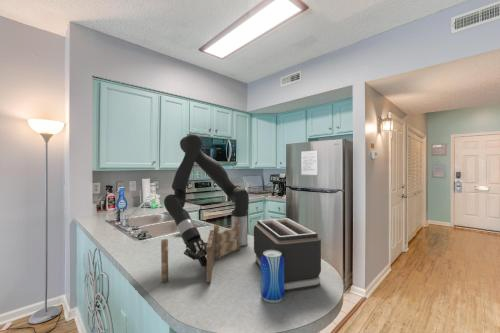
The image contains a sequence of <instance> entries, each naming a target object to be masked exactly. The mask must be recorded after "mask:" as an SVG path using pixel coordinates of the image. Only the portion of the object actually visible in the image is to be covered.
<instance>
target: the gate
mask: <svg viewBox="0 0 500 333" xmlns="http://www.w3.org/2000/svg"><path fill="white" fill-rule="evenodd" d="M206 243H207V245H206V252H207V254H206V259H207V266H206V282H207V283H210V282H212V275H213V268H214V261H215V260H214V229H213V230H212V229H211V230H210V231H209V234H208V239H207V242H206Z"/></svg>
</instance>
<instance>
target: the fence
mask: <svg viewBox="0 0 500 333" xmlns="http://www.w3.org/2000/svg"><path fill="white" fill-rule="evenodd" d="M213 230H214V261H218V260H220V257H222V256H224V255H227V254H230V253H231V252H233V251H235V252H239V251H240V250H241V249H240V247H241V246H240V234H239V219H235V227H233V228H232V227H231V228H228V229H224V230H222V231H220V225H219V224H214V225H213ZM160 247H161V248H160V249H161V250H160V253H161V255H160V257H161V258H160V260H161V262H160V263H161V283H162V284H166V283H169V239H167V238H165V239H161V240H160Z"/></svg>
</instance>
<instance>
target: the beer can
mask: <svg viewBox="0 0 500 333" xmlns="http://www.w3.org/2000/svg"><path fill="white" fill-rule="evenodd" d="M260 296H261V297H262V298H263V300H264V301H265V302H267V303H269V302H270V303H271V304H276V303H281V301H282V300H283V298H284V297H285V293H284V258H283V257H282V253H281V252H280V251H277V250H267V251H264V252H263V256H262V257H261V268H260Z"/></svg>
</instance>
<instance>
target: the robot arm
mask: <svg viewBox="0 0 500 333" xmlns="http://www.w3.org/2000/svg"><path fill="white" fill-rule="evenodd" d="M179 146H180V149H181V150H182V152H183V153H184V156H183V159H182V160H181V163H180V164H179V166H178V167H177V170H176V172H175V174H174V176H173V181H172V184H171V189H172V190H173V192H174V194H168V195H166V196H165V198H164V201H163V204H164V207H165V209H166V212H168V214H169V215H170V217H171V218H172V219H173V221H174V223H175V225H176V226H177V227H176V228H177V230H178V232H179V235H180V236H181V239H182V241H183V243H184V245H185V248H186V249H184V251H183V254H184V255H185V256H187V258H190V259H191V260H193V261H196V260H197V261H198V262H199V264H200V266H201V267H202V268H204V269H205V267H206V268H207V252H206V245H207V242H206V241H204V240H203V238H202V237H201V233H200V232H199V230H198V228H197V226H196V224H195V222H194V221H193V218H191V216H190V214H189V211H188V210H186V209H184V207H185V205H186V199H187V198H186V197H187V187H188V184H189V180H190V176H191V172H192V170H193V168H194V165H195V164H197V165H198V166H199V168H201V170H202V171H203V172H205V174H206V175H207V176H208V177H209V178H210V179H211V181H213V182H214V183H215V184H216V185H217V186H218V187H219V188H220V189H221V190H222V191H223V193H224V194H225V195H226V197H227V198H228V199H229V201H230V202H232V203H233V204H234V209H232V210H231V228H233V227H235V219H239V234H240V247H245V246H248V245H249V243H248V238H249V236H248V235H249V234H248V232H249V230H248V212H249V204H250V200H249V199H250V196H249V192H248V190H246V189H245V188H241V187H240V188H239V187H237V186H236V185H235V184H234V183H233V182H232V181H231V180H230V178H229V175H228V172H227V171H226V169H225V168H224V167H223V166H222V165H221V163H220V162H218V161H217V160H216V159H214V158H212V157H210V155H207V154H206V153H204V151H202V146H203V140H202V137H201V136H200V135H198V134H197V133H195V134H194V133H192V134H189V135H186V136H184V137H182V138H181V139H180V141H179Z"/></svg>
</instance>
